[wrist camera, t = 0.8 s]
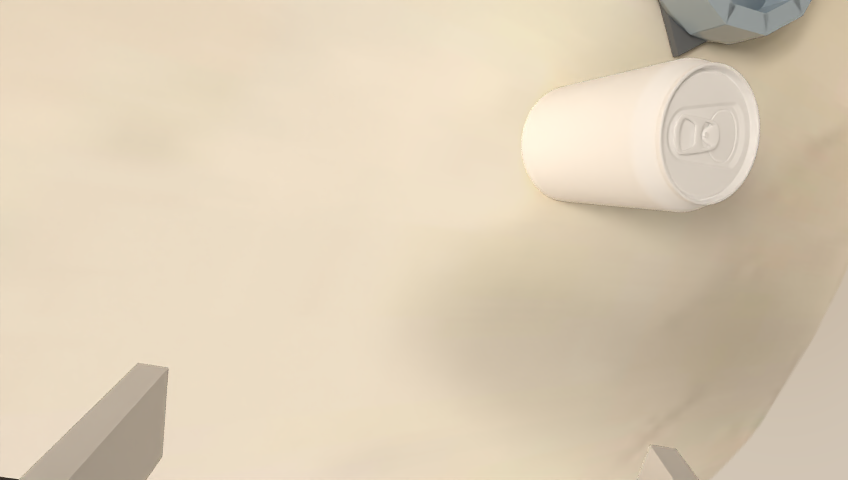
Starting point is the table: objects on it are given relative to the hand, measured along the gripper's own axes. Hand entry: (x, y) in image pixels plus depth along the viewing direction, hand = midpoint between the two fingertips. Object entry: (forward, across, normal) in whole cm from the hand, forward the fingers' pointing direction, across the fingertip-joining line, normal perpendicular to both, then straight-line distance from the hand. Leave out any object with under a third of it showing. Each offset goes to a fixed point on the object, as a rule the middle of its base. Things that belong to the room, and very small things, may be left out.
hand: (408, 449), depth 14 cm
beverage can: (+26, +10, +8) cm, 28 cm away
